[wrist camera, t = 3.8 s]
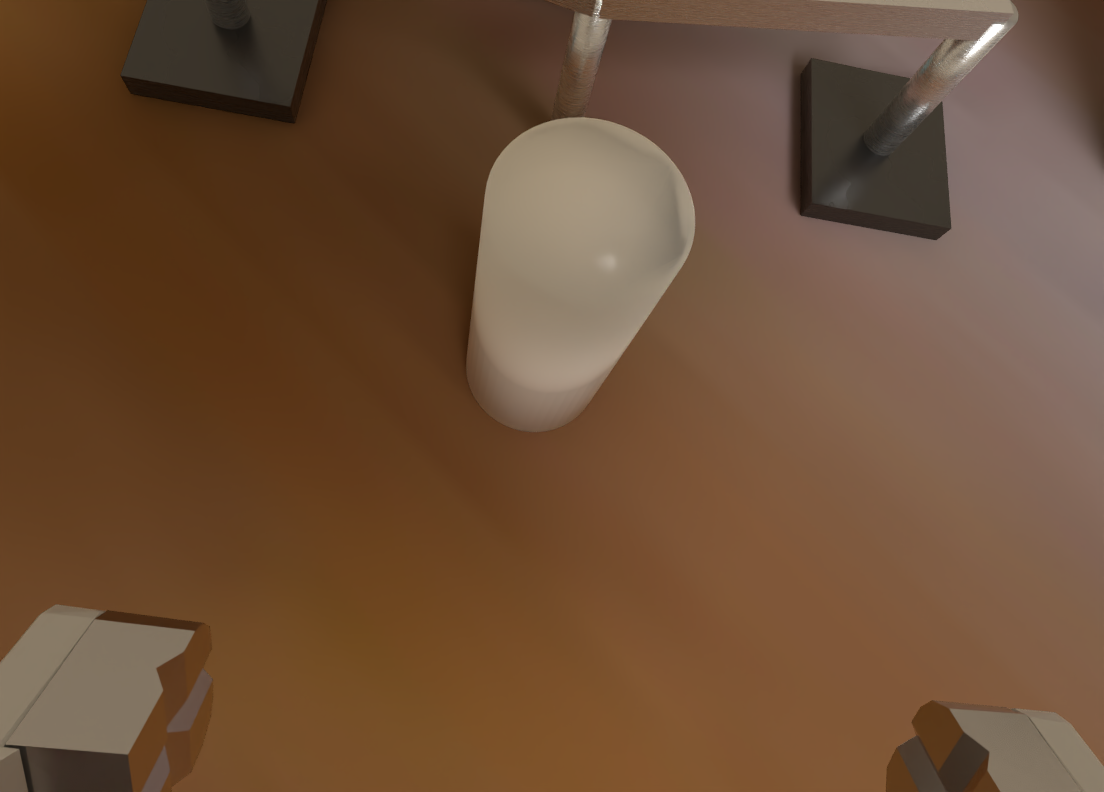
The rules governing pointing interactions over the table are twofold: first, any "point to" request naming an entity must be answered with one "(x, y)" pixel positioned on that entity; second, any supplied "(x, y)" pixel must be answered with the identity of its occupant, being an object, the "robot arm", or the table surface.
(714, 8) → the bent bar stand
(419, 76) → the table surface
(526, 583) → the table surface
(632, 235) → the salt shaker
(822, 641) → the table surface
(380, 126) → the table surface
